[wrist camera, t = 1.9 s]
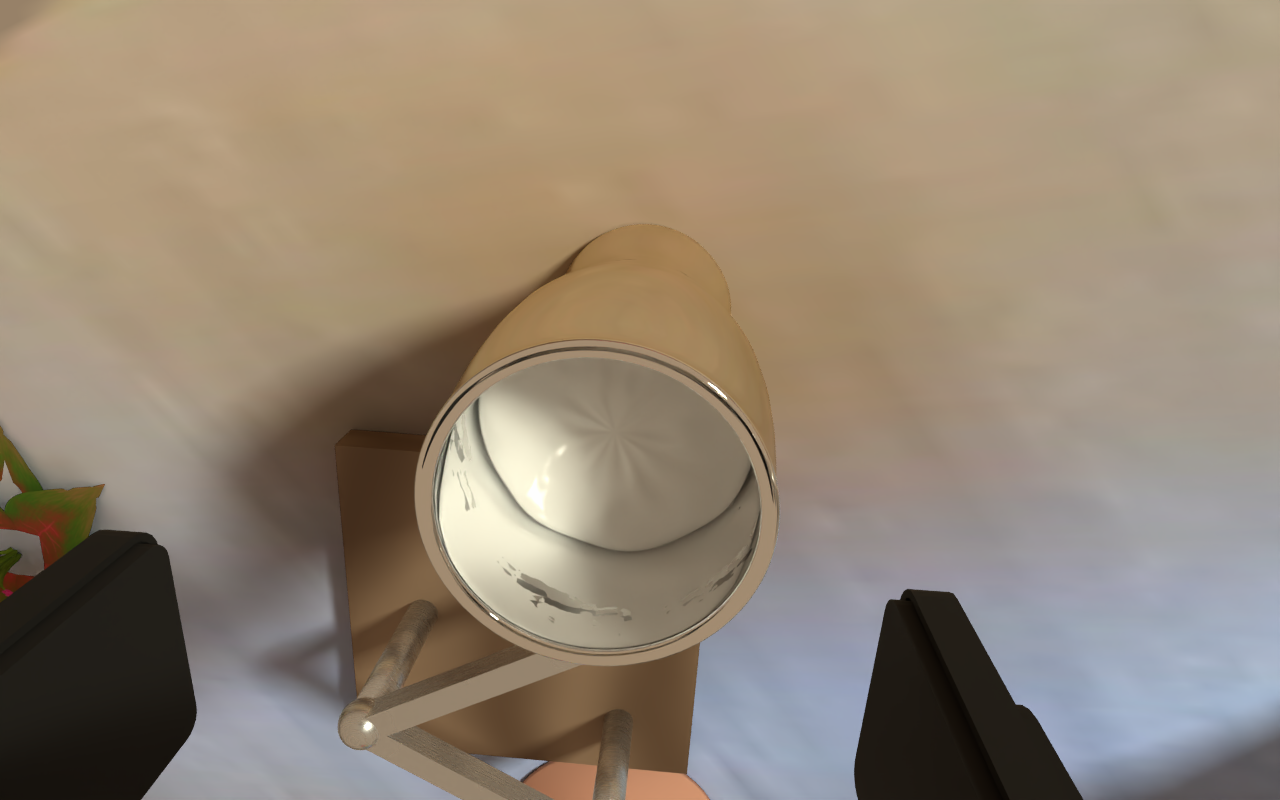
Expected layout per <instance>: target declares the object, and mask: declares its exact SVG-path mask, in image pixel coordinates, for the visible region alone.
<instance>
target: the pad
mask: <svg viewBox="0 0 1280 800" xmlns="http://www.w3.org/2000/svg"><path fill="white" fill-rule="evenodd" d="M596 772H597V766H596V765H586V764H575V763H565V762H554V761H549V762H548V763H546V764H544V765H543V766H541V767H539V768H538V769H537V770H535V771H534V772H533V773H531V774H530V775H529V776H528V777H527V778H526V779H525V780H524V781H523V782H522V783H524V784H526V785H528V786H530V787H532V788H533V789H535V790H537V791H539V792H541V793H543V794H545V795H547V796H548V797H550V798H552V799H554V800H592V799H593V792H594V785H595V778H596ZM625 800H710V799H709V797H708V796H707V795H706V793H705V792H704V791H703V790H702V789H701V787H700V786H699V785H698V784H697V783H696V782H695V781H693V780H692V779H691V778H690V777H689V776H687V775H686V774H680V773H670V772H659V771H649V770H638V769H628V779H627V789H626V799H625Z"/></svg>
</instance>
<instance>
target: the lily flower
mask: <svg viewBox="0 0 1280 800" xmlns="http://www.w3.org/2000/svg"><path fill="white" fill-rule="evenodd" d="M4 460H5V462H6V465H7V468H8V470H9V473H10V475H11V478H12V481H13V483H14V484H15V485H16V486H18V487H19V488H20V490H21V491H22V493H21V494H19V495H16V496H14V497H13V498H11V499H10V500H9V501H8V502H7V504H6V506H5V512H4V511H3V510H2V509H1V508H0V529H9V530H18V531H22V532H26V533H29V534H33V535H37V536H39V537H40V543H41V548H42V553H43V559H44V570H45V569H46V568H47V567H49V566H50V565H51V564H53V563H54V562H55V561H57V560H58V559H59V558H61V557H62V556H63V555H65V554H66V553H67V552H69V551H70V550H72V549H73V548H74V547H76V546H77V545H78V544H80V543H81V542H82V541H84V540H85V539H86V538H88V537H89V533H90V530H91V527H92V523H93V519H94V515H95V511H96V505H95V504H96V498H97V497H98V498H99V496H100V494H101V491H102V489H103V487H104V485H105V484H102V485H98V486H94V487H93V488H92V487H81V488H72V489H71V490H68V491H67V490H64V489H52V490H43V489H42V487H41V485H40V484H39V482H38V480H37V479H36V477H35V476H34V475H33V473H32V472H31V471H30V469H29V468H28V466H27V465H26V463H25V462H24V460H23V458H22V457H21V456H20V454H19V453H18V451H17V450H16V448H15V447H14V445H13V444H12V443H11V441H9V440H8V439H7V438H6V437H5V436H4V435H3V430H2V428H1V426H0V481H1V480H2V474H3V467H4ZM18 553H19V552H18ZM2 554H5V555H3V556H0V602H2V601H3V600H4V599H6V598H7V597H8V596H10V595H11V594H12V593H14V592H15V591H16V590H18V589H19V588H20V587H22V586H23V585H24V584H26V583H27V582H28V581H30V580H31V579H32V578H34V577H35V576H25V575H16V574H12V573H9V572H8V571H9V569H10V568H11V567H12V566H13V565H14V564H15V563H16V562H18V561H19V559H20V558H21V555H22V554H17V550H13V549H12V548H11V547H10V548H9V549H7V550H4V551H0V555H2Z"/></svg>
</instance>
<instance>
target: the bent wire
mask: <svg viewBox="0 0 1280 800" xmlns="http://www.w3.org/2000/svg"><path fill="white" fill-rule="evenodd" d="M437 618H438V611H437V608H436V607H435V606H434V605H433V604H432V603H431V602H429V601H427V600H416V601H414V602H412V603H411V604H410V606H409V607H408V609H407V611H406V613H405V614H404V616H403V618H402V620H401V621H400V623H399V625H398V627H397V629H396V630H395V632H394V634H393V636H392V637H391V639H390V641H389V643H388V644H387V646H386V648H385V650H384V651H383V653H382V655H381V657H380V658H379V660H378V662H377V664H376V665H375V667H374V669H373V671H372V672H371V674H370V676H369V678H368V679H367V681H366V683H365V685H364V687H363V688H362V690H361V692H360V694H359V695H358V697H357V699H356V700H354V701H352V702H351V703H349V704H348V705H347V706H346V707H345V708H344V710H343V711H342V713H341V715H340V717H339V720H338V733H339V736H340V738H341V740H342V742H343V743H344V744H345V745H347V746H348V747H350V748H352V749H355V750H368V751H370V752H372V753H374V754H376V755H378V756H380V757H382V758H383V759H385V760H387V761H389V762H391V763H393V764H395V765H397V766H399V767H401V768H403V769H405V770H406V771H408V772H410V773H412V774H414V775H416V776H418V777H420V778H422V779H424V780H426V781H428V782H430V783H431V784H433V785H435V786H437V787H439V788H441V789H443V790H445V791H447V792H449V793H451V794H453V795H454V796H456V797H458V798H460V799H462V800H554V799H552V798H550V797H548V796H547V795H545V794H543V793H541V792H539V791H537V790H535V789H533V788H532V787H530V786H528V785H526V784H524V783H522V782H520V781H518V780H516V779H515V778H513V777H511V776H509V775H507V774H505V773H503V772H501V771H500V770H498V769H496V768H494V767H492V766H490V765H488V764H486V763H484V762H483V761H481V760H479V759H477V758H475V757H473V756H471V755H469V754H468V753H466V752H464V751H462V750H460V749H458V748H456V747H454V746H452V745H451V744H449V743H447V742H445V741H443V740H441V739H439V738H437V737H436V736H434V735H432V734H430V733H428V732H426V731H424V730H422V729H420V728H419V727H417V726H416V725H419V724H422V723H424V722H427V721H430V720H432V719H435V718H438V717H441V716H443V715H446V714H449V713H452V712H454V711H457V710H460V709H462V708H465V707H468V706H471V705H473V704H476V703H479V702H482V701H484V700H487V699H490V698H492V697H495V696H498V695H501V694H503V693H506V692H509V691H512V690H514V689H517V688H520V687H523V686H525V685H528V684H531V683H533V682H536V681H539V680H542V679H544V678H547V677H550V676H553V675H555V674H558V673H561V672H563V671H566V670H569V669H572V668H574V667H577V666H580V665H581V664H574V663H568V662H563V661H559V660H555V659H551V658H548V657H544V656H542V655H539V654H536V653H533V652H531V651H528V650H526V649H523V648H521V647H519V646H517V645H514V646H511V647H509V648H506V649H504V650H501V651H498V652H496V653H493V654H490V655H488V656H485V657H483V658H480V659H477V660H475V661H472V662H469V663H467V664H464V665H461V666H459V667H456V668H454V669H451V670H448V671H446V672H443V673H440V674H438V675H435V676H433V677H430V678H427V679H425V680H422V681H419V682H417V683H414V684H411V685H409V686H406V687H404V688H403V686H404V684H405V682H406V680H407V678H408V676H409V674H410V672H411V670H412V668H413V666H414V664H415V662H416V660H417V658H418V656H419V654H420V652H421V650H422V648H423V646H424V644H425V642H426V640H427V638H428V636H429V634H430V632H431V630H432V628H433V626H434V624H435V622H436V620H437ZM632 729H633V718H632V716H631V715H630V714H629V713H628V712H627V711H625V710H621V709H614V710H611V711H609V712H608V713H607V714H606V715H605V718H604V724H603V731H602V738H601V745H600V751H599V758H598V765H597V772H596V778H595V785H594V792H593V799H592V800H625V799H626V789H627V779H628V769H629V759H630V749H631V739H632Z"/></svg>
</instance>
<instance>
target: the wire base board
mask: <svg viewBox="0 0 1280 800" xmlns="http://www.w3.org/2000/svg"><path fill="white" fill-rule="evenodd" d="M425 437H426V435H414V434H401V433H389V432H376V431H363V430H350V431H349V432H348V433H347V434H346V435H345V436H344V437H343V438H342V439H341V440H340V441H339V442H338V443H337V444H336V445H335V454H336V466H337V477H338V488H339V500H340V511H341V522H342V533H343V545H344V556H345V567H346V579H347V590H348V601H349V613H350V624H351V635H352V647H353V658H354V669H355V680H356V692H357V697H358V695H359V694H360V692H361V690H362V688H363V687H364V685H365V683H366V681H367V679H368V678H369V676H370V674H371V672H372V671H373V669H374V667H375V665H376V664H377V662H378V660H379V658H380V657H381V655H382V653H383V651H384V650H385V648H386V646H387V644H388V643H389V641H390V639H391V637H392V636H393V634H394V632H395V630H396V629H397V627H398V625H399V623H400V621H401V620H402V618H403V616H404V614H405V613H406V611H407V609H408V607H409V606H410V604H411V603H412V602H414V601H416V600H427V601H429V602H431V603H432V604H433V605H434V606H435V607H436V608H437V611H438V618H437V620H436V622H435V624H434V626H433V628H432V630H431V632H430V634H429V636H428V638H427V640H426V642H425V644H424V646H423V648H422V650H421V652H420V654H419V656H418V658H417V660H416V662H415V664H414V666H413V668H412V670H411V672H410V674H409V676H408V678H407V680H406V682H405V684H404V686H403V688H404V687H406V686H409V685H411V684H414V683H417V682H419V681H422V680H425V679H427V678H430V677H433V676H435V675H438V674H440V673H443V672H446V671H448V670H451V669H454V668H456V667H459V666H461V665H464V664H467V663H469V662H472V661H475V660H477V659H480V658H483V657H485V656H488V655H490V654H493V653H496V652H498V651H501V650H504V649H506V648H509V647H511V646H514V645H515V644H513V643H511V642H509V641H507V640H506V639H504V638H502V637H500V636H499V635H497V634H496V633H494V632H493V631H491V630H490V629H488V628H487V627H486V626H484V625H483V624H482V623H480V622H479V621H478V620H477V619H475V618H474V617H473V616H472V615H471V614H470V613H469V612H468V611H467V610H466V609H464V608H463V607H462V605H461V604H460V603H459V602H458V601H457V600H456V599H455V598H454V597H453V595H452V594H451V593H450V592H449V590H448V589H447V588H446V586H445V585H444V584H443V582H442V581H441V579H440V578H439V576H438V575H437V573H436V571H435V569H434V568H433V566H432V564H431V562H430V560H429V558H428V555H427V553H426V551H425V548H424V546H423V543H422V539H421V536H420V533H419V529H418V525H417V519H416V513H415V502H414V485H415V474H416V468H417V463H418V459H419V455H420V451H421V448H422V445H423V442H424V440H425ZM699 646H700V643H698V644H696V645H694V646H692V647H690V648H688V649H686V650H684V651H681V652H679V653H676V654H674V655H671V656H668V657H665V658H661V659H658V660H654V661H650V662H645V663H639V664H632V665H622V666H591V665H580V666H577V667H574V668H572V669H569V670H566V671H563V672H561V673H558V674H555V675H553V676H550V677H547V678H544V679H542V680H539V681H536V682H533V683H531V684H528V685H525V686H523V687H520V688H517V689H514V690H512V691H509V692H506V693H503V694H501V695H498V696H495V697H492V698H490V699H487V700H484V701H482V702H479V703H476V704H473V705H471V706H468V707H465V708H462V709H460V710H457V711H454V712H452V713H449V714H446V715H443V716H441V717H438V718H435V719H432V720H430V721H427V722H424V723H422V724H419V725H416V726H417V727H419V728H420V729H422V730H424V731H426V732H428V733H430V734H432V735H434V736H436V737H437V738H439V739H441V740H443V741H445V742H447V743H449V744H451V745H452V746H454V747H456V748H458V749H460V750H462V751H464V752H466V753H470V754H481V755H491V756H502V757H512V758H523V759H533V760H544V761H554V762H565V763H575V764H586V765H596V766H597V765H598V758H599V751H600V745H601V738H602V731H603V724H604V718H605V715H606V714H607V713H608V712H609V711H611V710H614V709H621V710H625V711H627V712H628V713H629V714H630V715H631V716H632V718H633V729H632V739H631V749H630V759H629V769H638V770H649V771H659V772H670V773H680V774H687V766H688V756H689V746H690V736H691V726H692V716H693V706H694V696H695V686H696V676H697V666H698V656H699Z"/></svg>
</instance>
